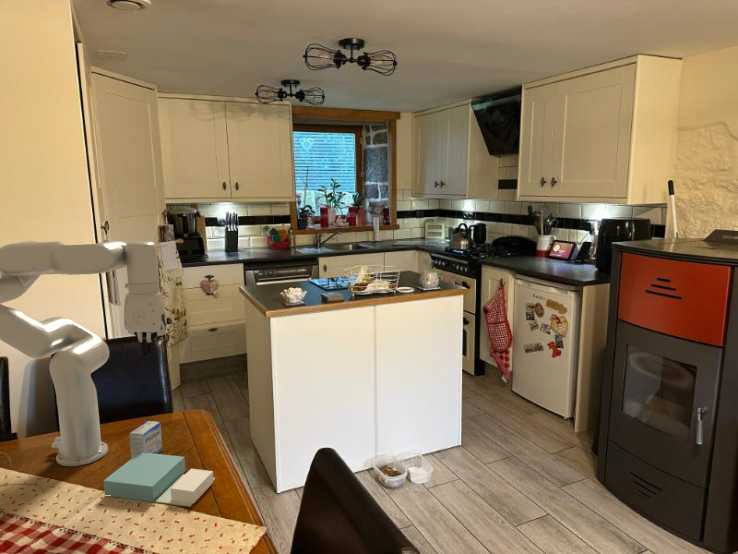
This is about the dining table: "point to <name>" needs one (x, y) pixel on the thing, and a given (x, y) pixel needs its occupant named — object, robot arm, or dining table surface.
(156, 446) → the medicine box
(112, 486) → the block
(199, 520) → the dining table surface
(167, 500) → the mat
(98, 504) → the dining table surface
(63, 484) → the dining table surface
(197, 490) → the white rectangular block
